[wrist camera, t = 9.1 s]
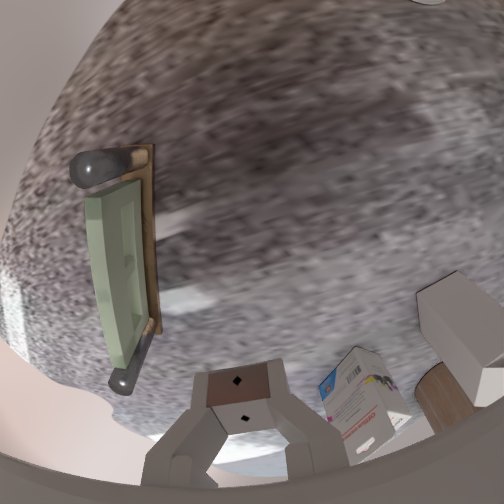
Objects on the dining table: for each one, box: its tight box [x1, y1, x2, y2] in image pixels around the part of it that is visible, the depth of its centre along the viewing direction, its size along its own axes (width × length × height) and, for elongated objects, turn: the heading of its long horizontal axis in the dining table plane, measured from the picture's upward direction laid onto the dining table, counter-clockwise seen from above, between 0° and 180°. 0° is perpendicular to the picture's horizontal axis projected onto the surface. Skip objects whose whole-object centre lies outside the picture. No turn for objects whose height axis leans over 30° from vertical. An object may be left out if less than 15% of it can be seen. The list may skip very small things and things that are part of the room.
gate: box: [84, 179, 149, 369], centre depth 24 cm, size 15×1×8 cm, turn 176°
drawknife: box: [70, 144, 163, 396], centre depth 25 cm, size 21×3×11 cm, turn 176°
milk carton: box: [417, 271, 504, 407], centre depth 25 cm, size 7×7×19 cm
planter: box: [415, 362, 485, 434], centre depth 29 cm, size 10×10×23 cm
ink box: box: [319, 347, 412, 466], centre depth 30 cm, size 8×5×15 cm, turn 151°
